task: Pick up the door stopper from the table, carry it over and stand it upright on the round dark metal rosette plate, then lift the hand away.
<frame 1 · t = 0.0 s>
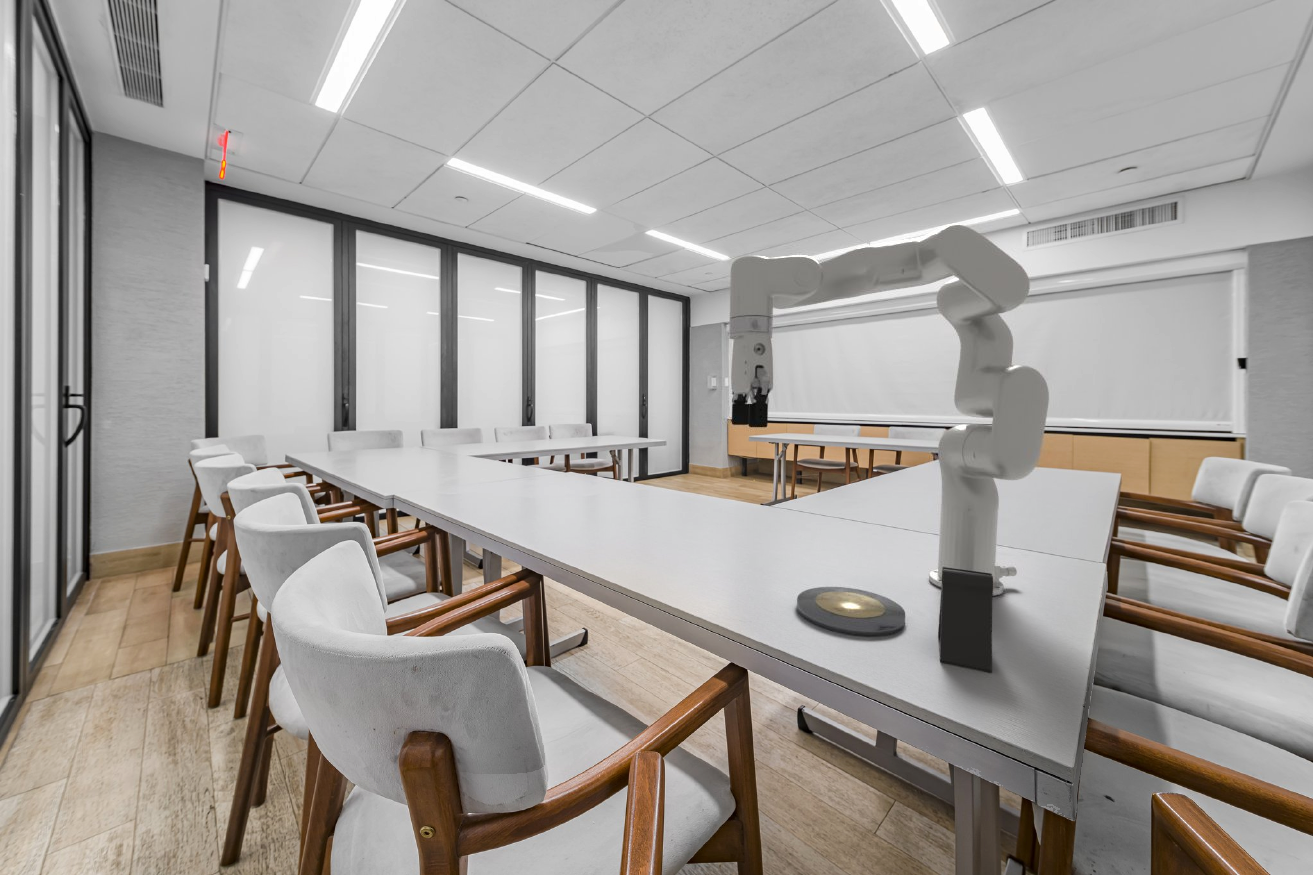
hand: (748, 425, 91), 31 cm above the table, tool pointing down, fingers open, 9 cm apart
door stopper: (962, 655, 72), on the table
rosette plate: (849, 613, 86), on the table
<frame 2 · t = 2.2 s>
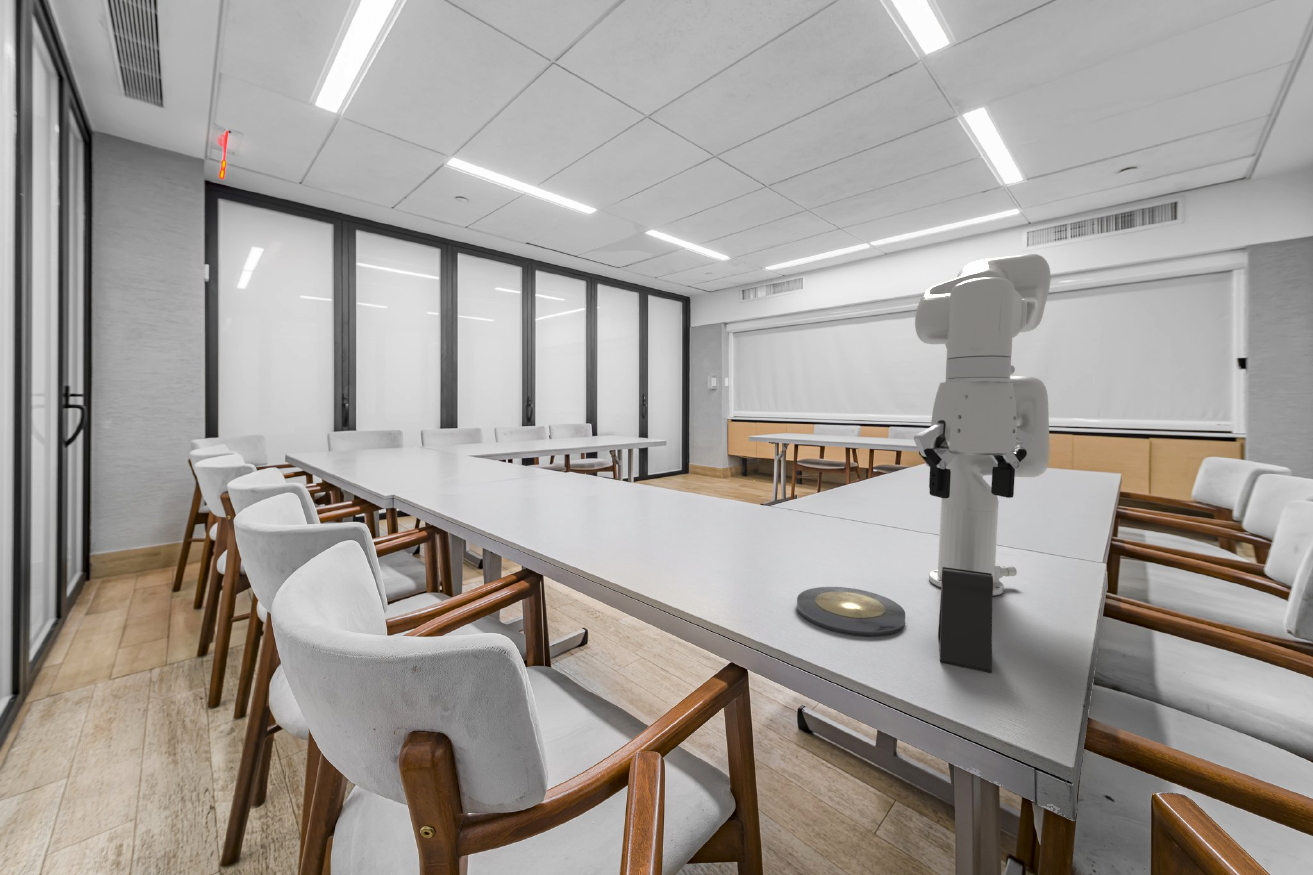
hand: (970, 496, 71), 23 cm above the table, tool pointing down, fingers open, 9 cm apart
nothing on the table moved.
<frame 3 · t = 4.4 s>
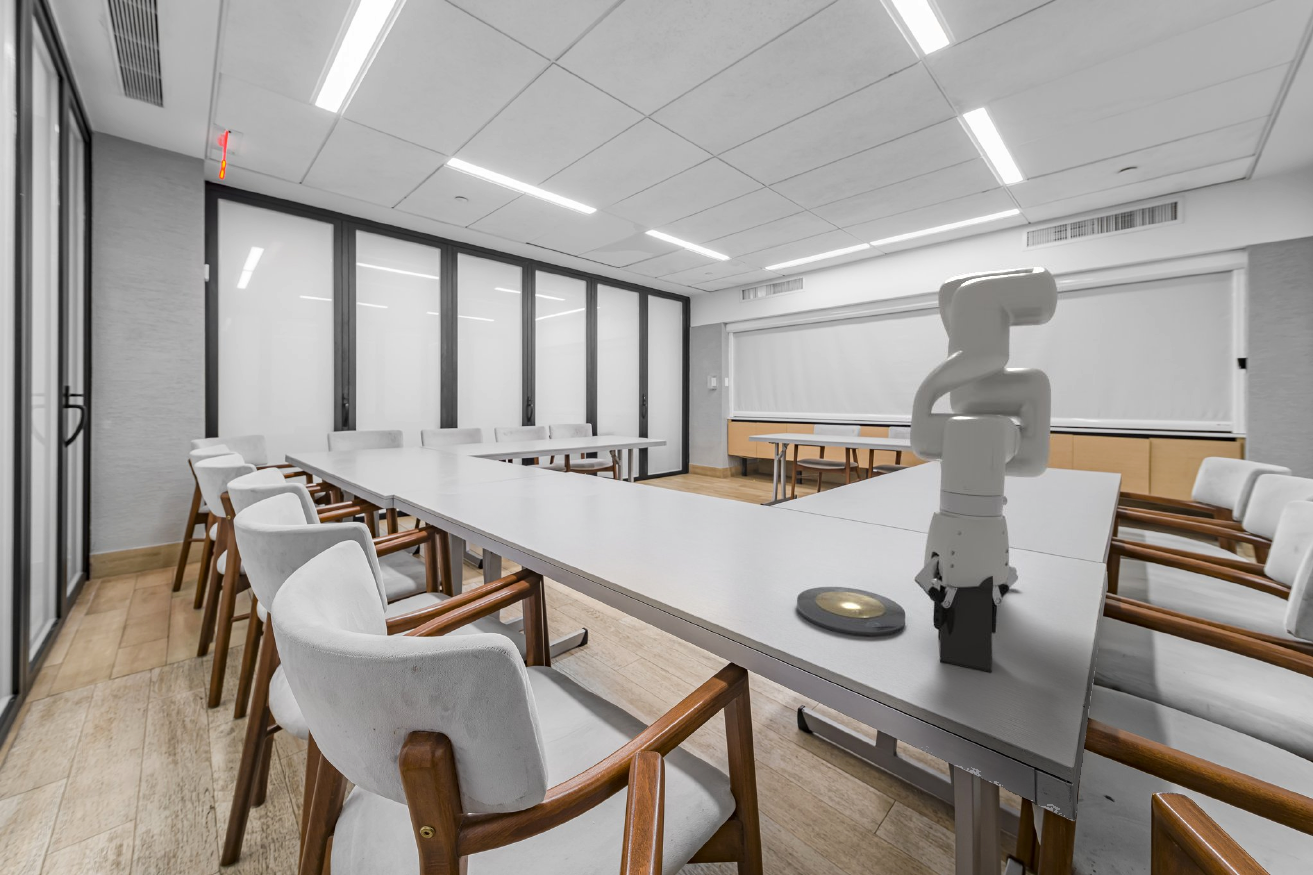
hand: (964, 629, 72), 4 cm above the table, tool pointing down, fingers closed on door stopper, 5 cm apart
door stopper: (962, 654, 72), on the table, touching gripper
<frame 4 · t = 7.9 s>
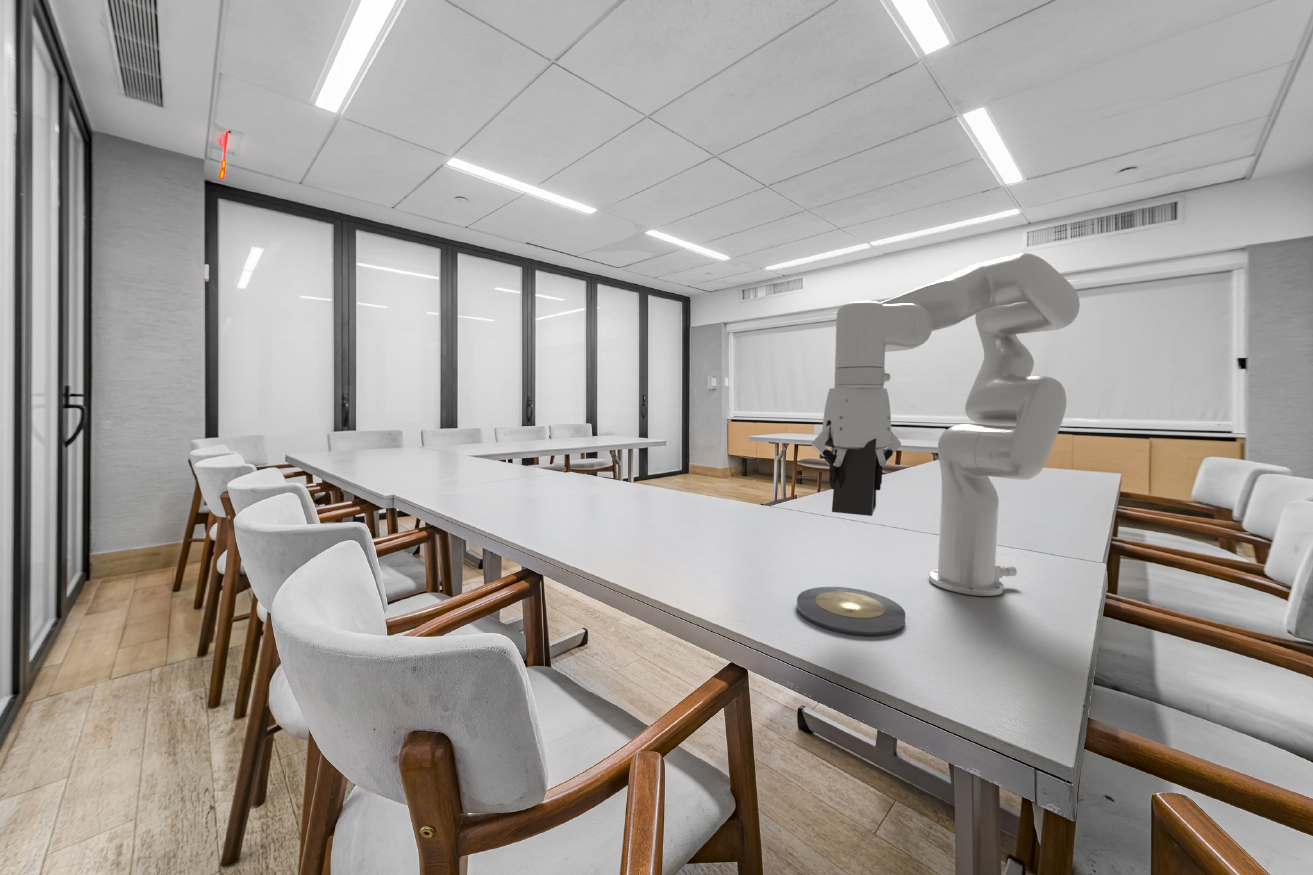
hand: (855, 488, 84), 21 cm above the table, tool pointing down, fingers closed on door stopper, 5 cm apart
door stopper: (854, 510, 84), point 18 cm above the table, touching gripper
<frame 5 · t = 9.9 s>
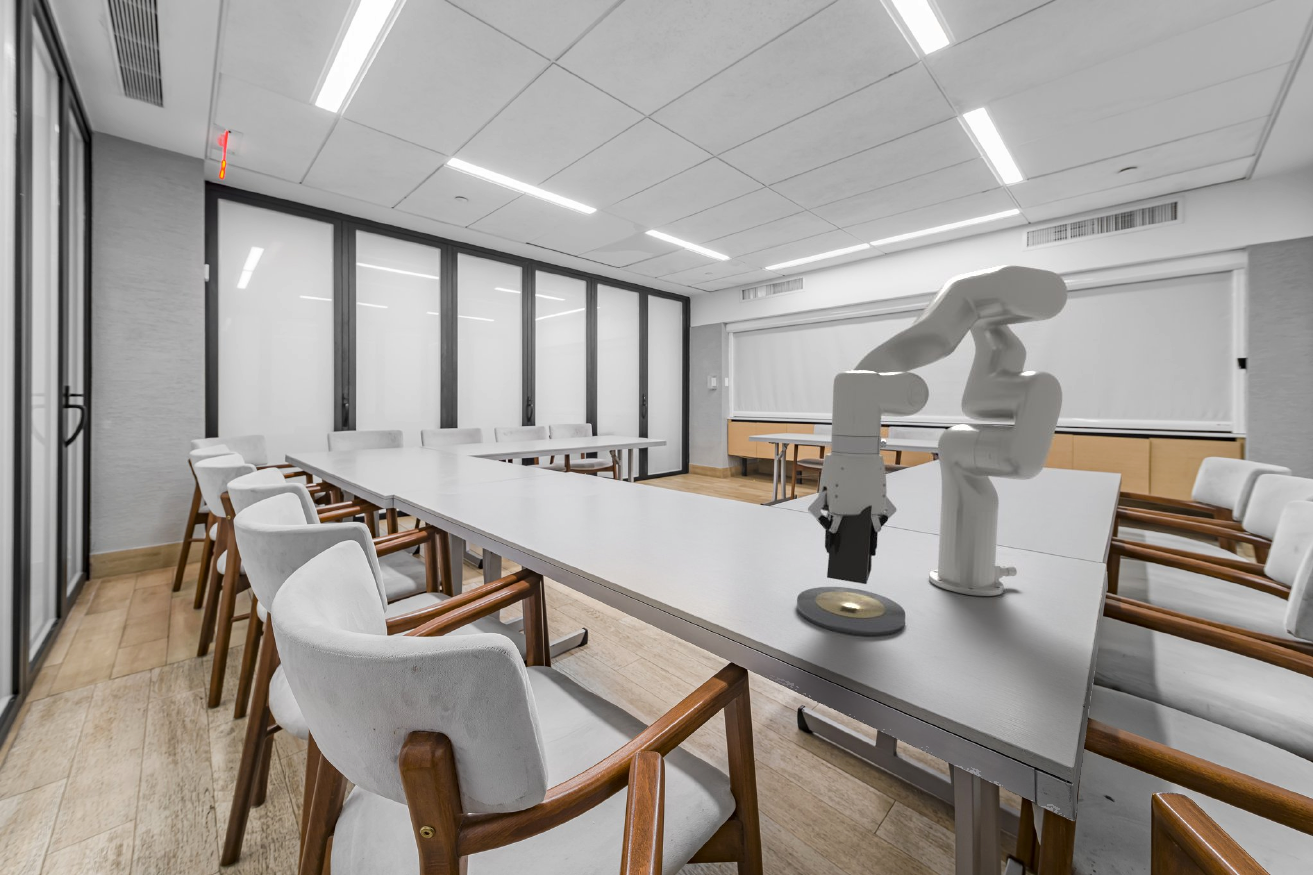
hand: (850, 552, 85), 10 cm above the table, tool pointing down, fingers closed on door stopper, 5 cm apart
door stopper: (849, 574, 85), point 7 cm above the table, touching gripper
when the fingers open (6 cm above the table, at t = 11.6 s): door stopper drops 1 cm, resting on rosette plate.
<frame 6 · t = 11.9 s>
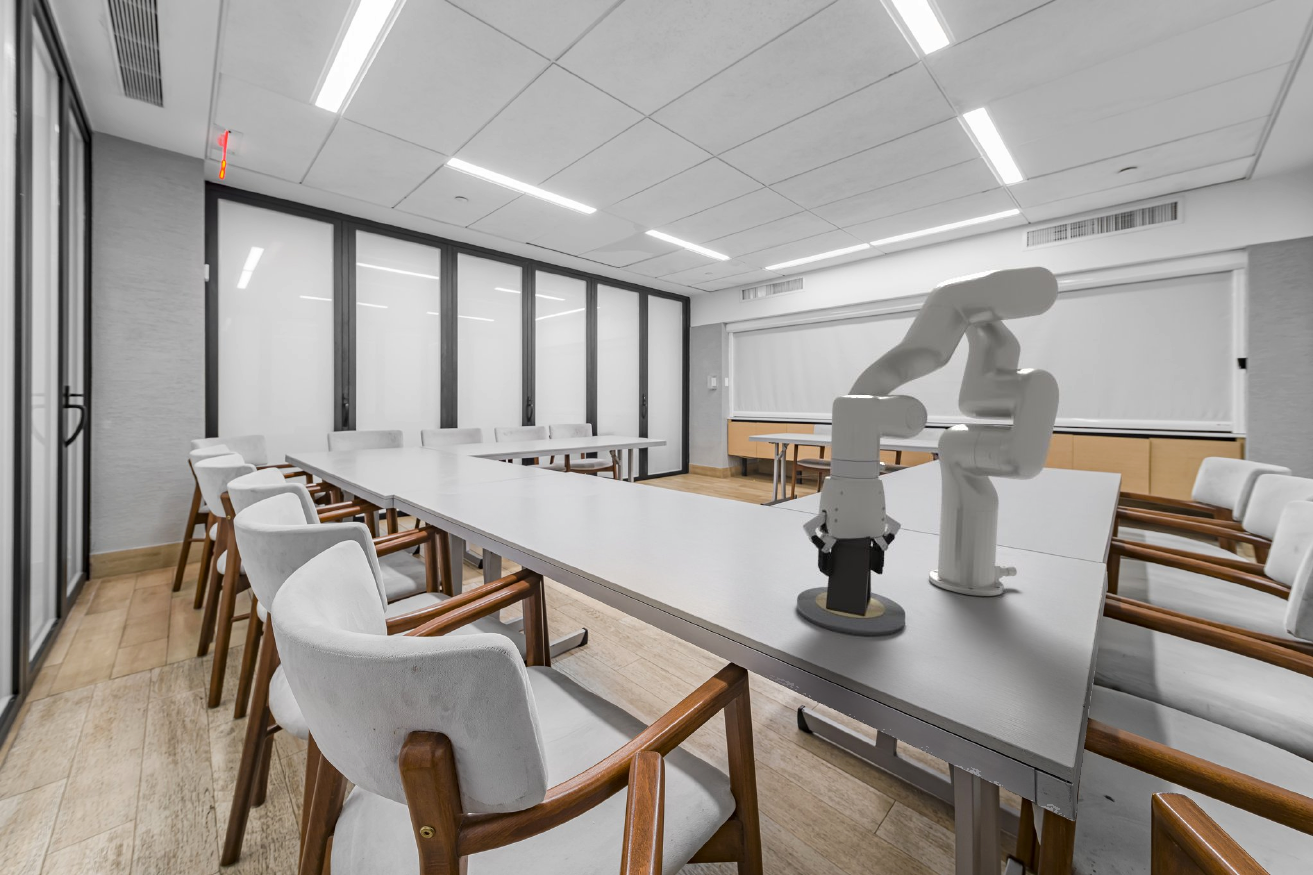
hand: (850, 572, 85), 7 cm above the table, tool pointing down, fingers open, 8 cm apart
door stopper: (849, 604, 86), point 2 cm above the table, touching rosette plate
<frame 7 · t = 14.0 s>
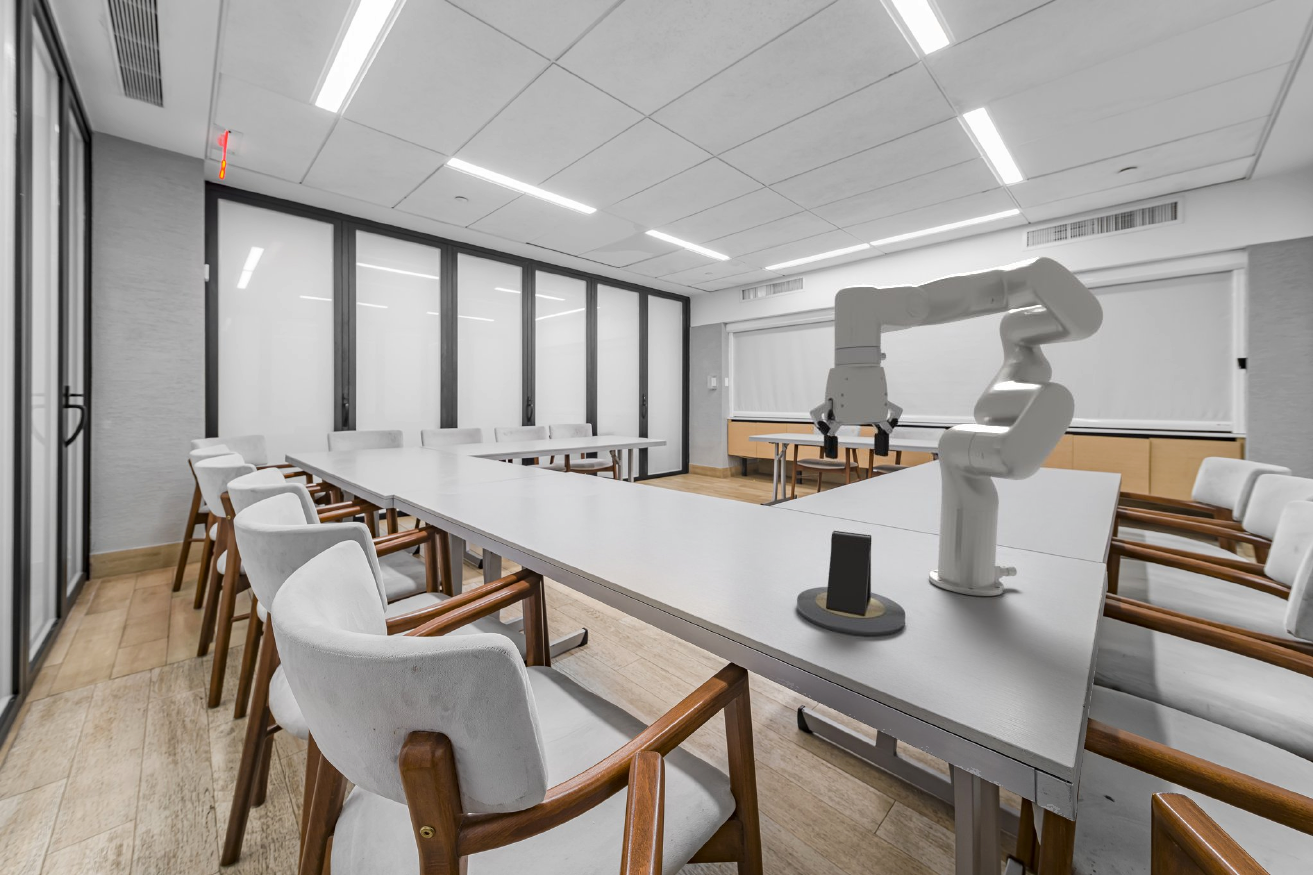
hand: (856, 457, 90), 26 cm above the table, tool pointing down, fingers open, 9 cm apart
nothing on the table moved.
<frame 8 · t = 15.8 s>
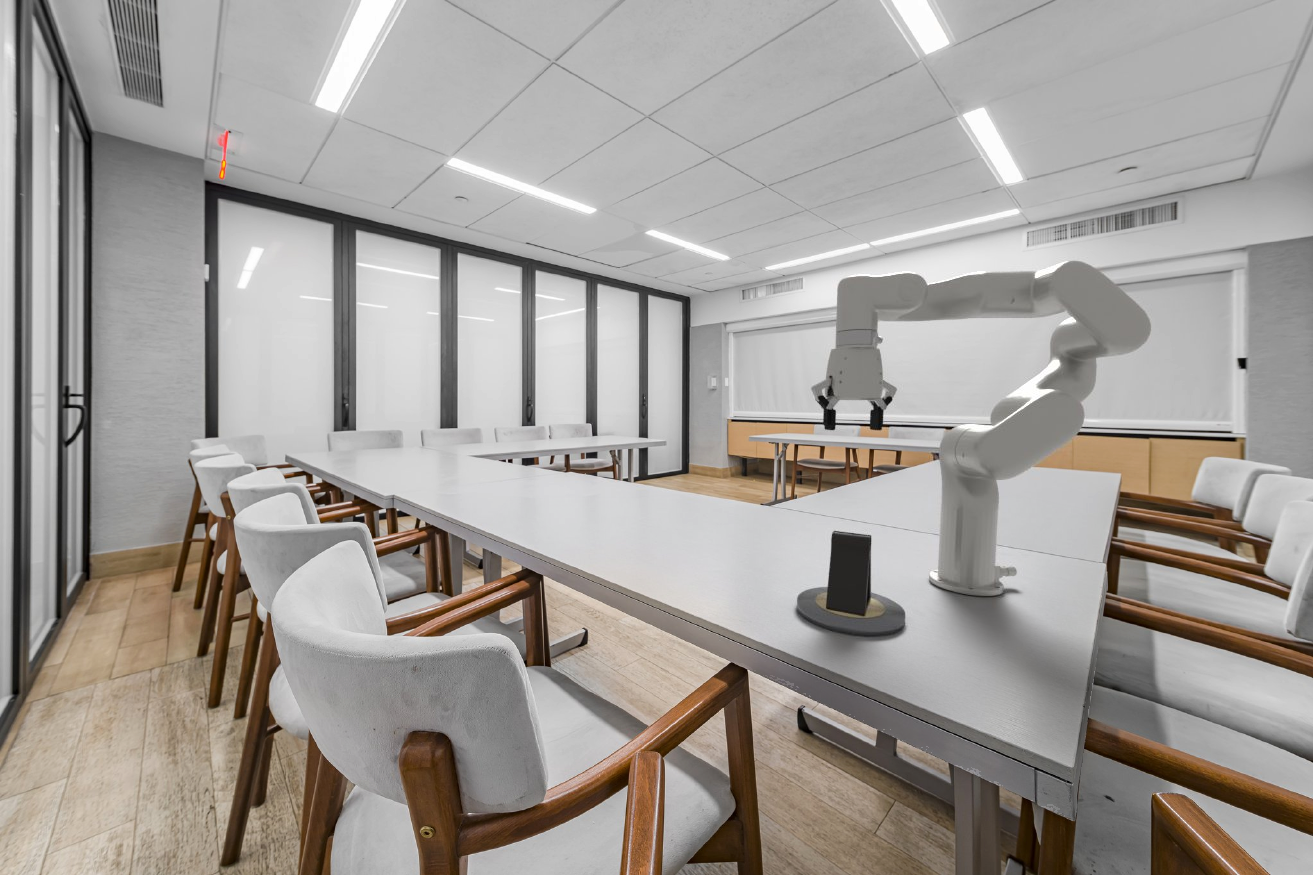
hand: (852, 429, 100), 30 cm above the table, tool pointing down, fingers open, 9 cm apart
nothing on the table moved.
at the end: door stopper inside the target area on the rosette plate (0.0 cm from its centre), point 1.5 cm above the rosette plate's base; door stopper tilted 0°; the gripper is holding nothing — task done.
